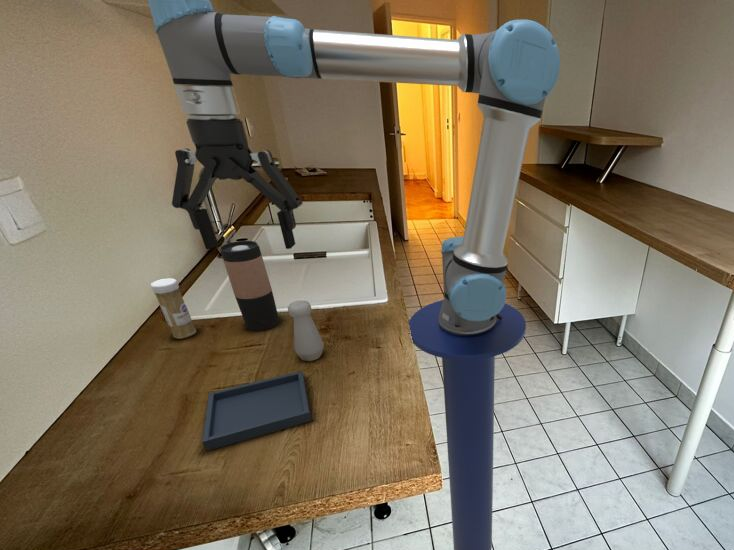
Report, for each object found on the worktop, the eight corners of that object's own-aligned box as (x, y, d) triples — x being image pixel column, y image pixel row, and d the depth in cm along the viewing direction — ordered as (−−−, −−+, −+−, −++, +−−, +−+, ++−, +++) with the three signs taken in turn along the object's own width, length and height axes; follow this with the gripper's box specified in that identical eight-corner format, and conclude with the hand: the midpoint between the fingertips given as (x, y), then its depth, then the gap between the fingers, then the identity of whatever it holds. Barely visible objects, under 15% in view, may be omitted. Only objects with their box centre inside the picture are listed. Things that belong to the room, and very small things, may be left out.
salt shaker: (300, 349, 92) (286, 297, 86) (327, 347, 93) (316, 296, 87) (294, 364, 87) (279, 310, 81) (323, 362, 88) (310, 308, 82)
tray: (304, 379, 83) (302, 370, 82) (311, 421, 73) (309, 412, 72) (212, 401, 76) (208, 392, 75) (206, 451, 66) (202, 441, 65)
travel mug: (238, 330, 99) (210, 250, 89) (258, 315, 105) (235, 239, 95) (268, 332, 98) (243, 252, 88) (287, 317, 104) (266, 241, 95)
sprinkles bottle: (194, 337, 95) (172, 284, 88) (170, 340, 94) (146, 287, 87) (199, 328, 99) (178, 276, 92) (176, 331, 97) (153, 278, 90)
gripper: (109, 116, 60) (165, 253, 71) (287, 121, 63) (316, 253, 73) (143, 113, 67) (190, 240, 77) (304, 118, 69) (328, 239, 80)
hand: (252, 246), depth 75 cm, fingers open, 13 cm apart
